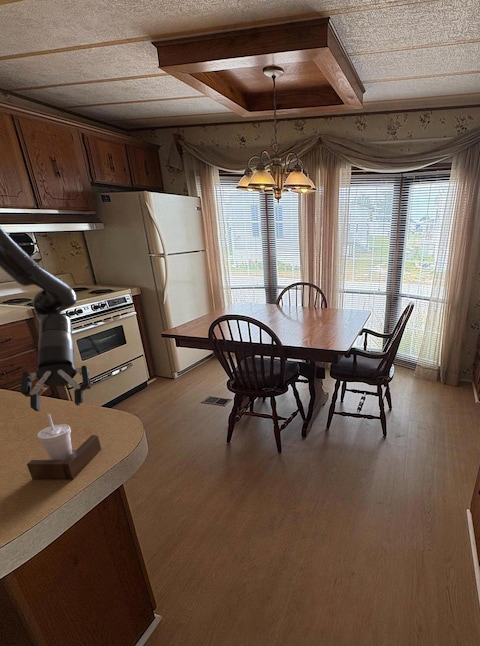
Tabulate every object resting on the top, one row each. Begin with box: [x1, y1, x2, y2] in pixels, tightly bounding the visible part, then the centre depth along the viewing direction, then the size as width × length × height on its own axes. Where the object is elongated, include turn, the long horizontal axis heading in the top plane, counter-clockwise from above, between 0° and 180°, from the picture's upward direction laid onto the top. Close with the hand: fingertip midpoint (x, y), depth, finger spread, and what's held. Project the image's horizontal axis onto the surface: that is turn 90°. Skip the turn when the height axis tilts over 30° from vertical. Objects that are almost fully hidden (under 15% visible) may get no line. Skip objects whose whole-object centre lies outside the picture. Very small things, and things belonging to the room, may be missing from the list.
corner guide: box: [26, 434, 102, 481], centre depth 85 cm, size 10×12×4 cm
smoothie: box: [36, 413, 73, 460], centre depth 82 cm, size 6×6×14 cm
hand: (57, 407), depth 87 cm, fingers open, 8 cm apart
